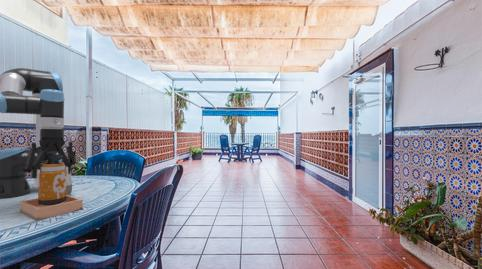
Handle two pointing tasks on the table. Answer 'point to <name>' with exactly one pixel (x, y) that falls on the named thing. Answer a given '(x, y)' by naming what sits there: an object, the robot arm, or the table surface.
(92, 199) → the table surface
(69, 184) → the smart speaker
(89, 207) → the table surface
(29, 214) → the tray
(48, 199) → the canister
